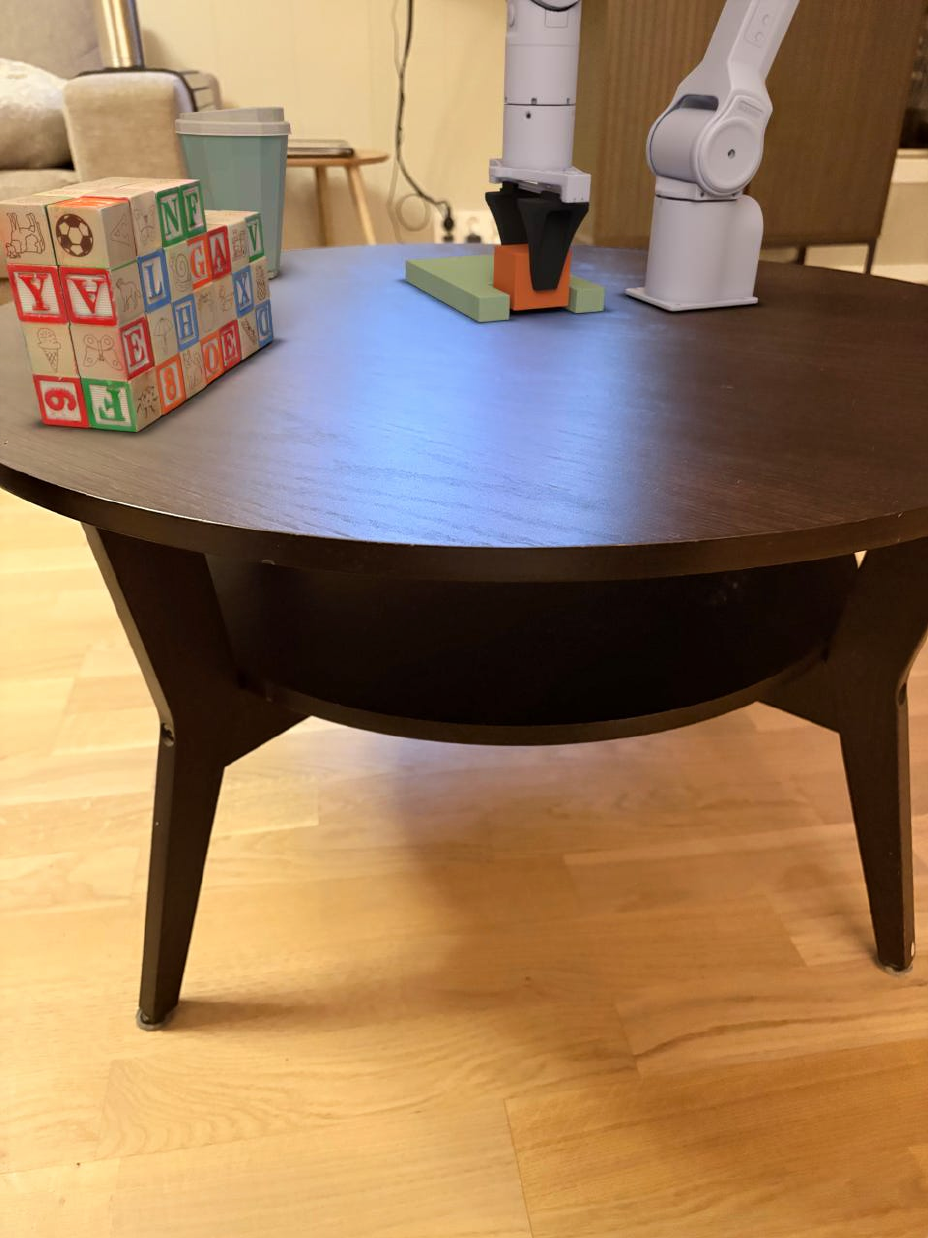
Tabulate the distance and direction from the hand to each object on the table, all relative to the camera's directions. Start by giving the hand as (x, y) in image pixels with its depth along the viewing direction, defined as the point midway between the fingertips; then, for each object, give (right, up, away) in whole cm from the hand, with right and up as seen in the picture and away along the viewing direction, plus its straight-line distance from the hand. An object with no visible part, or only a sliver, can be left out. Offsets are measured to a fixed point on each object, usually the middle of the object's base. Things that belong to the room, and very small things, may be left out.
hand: (531, 283), depth 81 cm
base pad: (-3, +1, +6) cm, 7 cm away
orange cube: (0, -1, +1) cm, 2 cm away
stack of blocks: (-26, -13, -17) cm, 33 cm away
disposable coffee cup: (-28, +5, +13) cm, 31 cm away
